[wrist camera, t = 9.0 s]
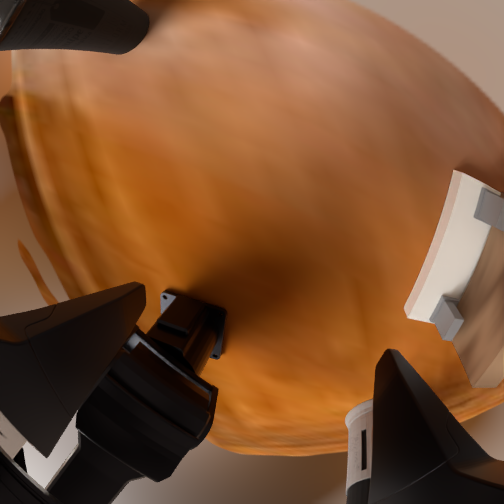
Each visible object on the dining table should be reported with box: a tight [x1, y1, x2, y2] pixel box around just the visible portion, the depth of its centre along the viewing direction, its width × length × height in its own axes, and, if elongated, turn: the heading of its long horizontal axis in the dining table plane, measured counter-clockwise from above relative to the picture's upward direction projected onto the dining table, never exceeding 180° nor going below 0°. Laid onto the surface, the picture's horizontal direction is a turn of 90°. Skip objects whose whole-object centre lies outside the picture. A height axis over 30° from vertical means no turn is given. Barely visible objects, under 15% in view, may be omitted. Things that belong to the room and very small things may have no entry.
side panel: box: [404, 170, 504, 341], centre depth 15 cm, size 12×11×4 cm
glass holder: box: [345, 399, 373, 504], centre depth 19 cm, size 9×14×15 cm, turn 25°
